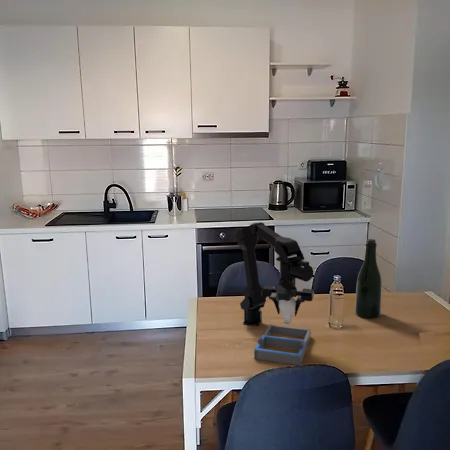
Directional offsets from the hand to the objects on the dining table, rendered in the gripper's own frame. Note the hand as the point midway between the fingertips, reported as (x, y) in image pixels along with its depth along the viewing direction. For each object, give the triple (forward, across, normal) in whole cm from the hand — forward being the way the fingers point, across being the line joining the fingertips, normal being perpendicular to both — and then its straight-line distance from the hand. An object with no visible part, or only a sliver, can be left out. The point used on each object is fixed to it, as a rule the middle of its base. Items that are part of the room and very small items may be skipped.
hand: (287, 314), depth 169 cm
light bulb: (+4, 0, 0) cm, 4 cm away
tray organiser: (+10, 0, -6) cm, 12 cm away
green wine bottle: (+11, +28, +35) cm, 46 cm away
